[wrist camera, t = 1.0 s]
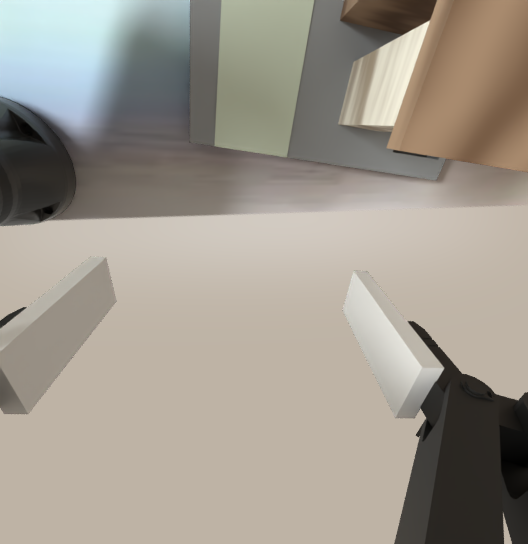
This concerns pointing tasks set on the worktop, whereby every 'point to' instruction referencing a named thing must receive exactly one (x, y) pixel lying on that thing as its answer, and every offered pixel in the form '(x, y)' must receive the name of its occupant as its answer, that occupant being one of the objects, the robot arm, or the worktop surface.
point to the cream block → (381, 83)
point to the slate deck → (286, 84)
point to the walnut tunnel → (460, 77)
